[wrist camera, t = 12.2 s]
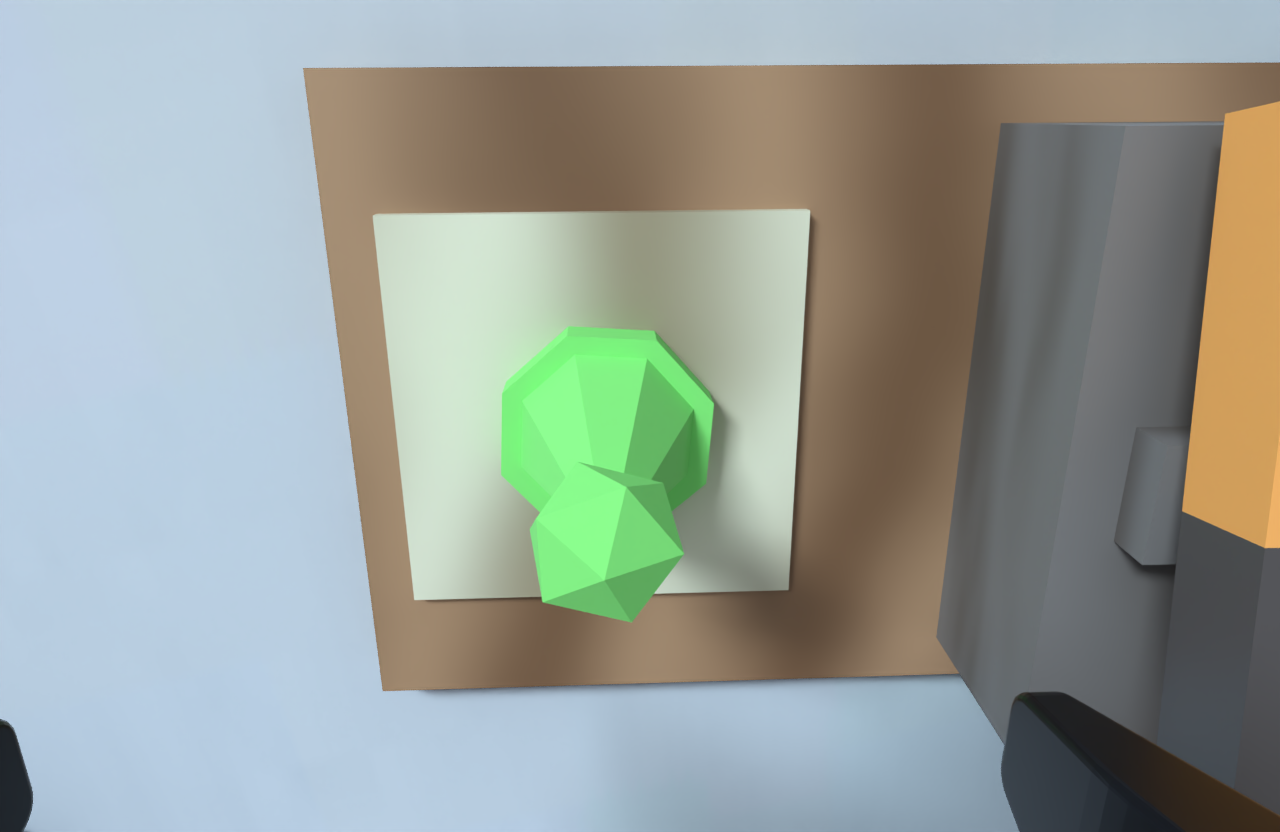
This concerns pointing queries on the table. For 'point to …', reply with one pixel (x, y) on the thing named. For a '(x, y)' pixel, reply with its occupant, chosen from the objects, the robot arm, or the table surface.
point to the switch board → (790, 358)
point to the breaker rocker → (1233, 489)
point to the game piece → (605, 463)
